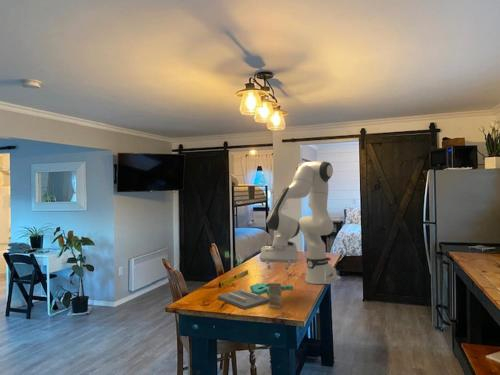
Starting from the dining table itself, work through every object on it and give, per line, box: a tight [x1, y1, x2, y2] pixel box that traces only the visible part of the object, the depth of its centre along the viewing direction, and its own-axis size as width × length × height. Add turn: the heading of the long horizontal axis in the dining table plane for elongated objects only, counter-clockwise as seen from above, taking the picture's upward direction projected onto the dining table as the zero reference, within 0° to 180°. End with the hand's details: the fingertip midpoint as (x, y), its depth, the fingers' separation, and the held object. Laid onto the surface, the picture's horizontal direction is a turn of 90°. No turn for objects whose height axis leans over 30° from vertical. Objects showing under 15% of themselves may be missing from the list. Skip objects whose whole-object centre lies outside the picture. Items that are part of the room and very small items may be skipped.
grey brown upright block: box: [268, 281, 283, 309], centre depth 175 cm, size 5×6×11 cm
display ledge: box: [217, 288, 269, 310], centre depth 186 cm, size 16×24×3 cm, turn 38°
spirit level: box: [218, 269, 249, 288], centre depth 225 cm, size 33×1×3 cm, turn 152°
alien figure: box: [249, 282, 294, 297], centre depth 201 cm, size 20×2×20 cm
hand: (277, 268), depth 185 cm, fingers open, 8 cm apart
